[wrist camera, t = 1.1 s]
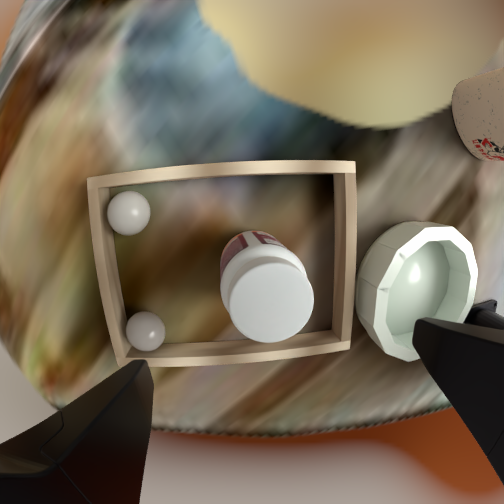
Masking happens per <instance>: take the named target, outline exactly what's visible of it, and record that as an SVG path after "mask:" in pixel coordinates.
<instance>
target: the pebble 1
mask: <svg viewBox="0 0 504 504" xmlns="http://www.w3.org/2000/svg"><path fill="white" fill-rule="evenodd" d="M107 217H108V221H109V224H110V225H111V227H112V228H113V229H114V230H115V231H116V232H118V233H119V234H122V235H134V234H137V233H139V232H141V231H142V230H143V229H144V228H145V227H146V225H147V224H148V222H149V219H150V206H149V203H148V201H147V200H146V198H145V197H144V196H143V195H141V194H140V193H138V192H135V191H123V192H121V193H119V194H117V195H116V196H115V197H114V198H113V199H112V200H111V202H110V204H109V206H108V210H107Z"/></svg>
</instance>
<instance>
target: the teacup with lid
mask: <svg viewBox="0 0 504 504" xmlns="http://www.w3.org/2000/svg"><path fill="white" fill-rule="evenodd" d="M452 113H453V118H454V122H455V125H456V128H457V131H458V133H459V135H460V137H461V139H462V141H463V143H464V144H465V146H466V147H467V149H468V150H469V151H470V152H471V153H472V154H473V155H474V156H475V157H477V158H479V159H481V160H484V161H502V160H504V67H503V68H500V69H496V70H493V71H490V72H487V73H484V74H481V75H478V76H475V77H472V78H469V79H466V80H463V81H461V82H459V83H458V84H457V85H456V87H455V89H454V91H453V95H452Z"/></svg>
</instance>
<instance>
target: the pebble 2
mask: <svg viewBox="0 0 504 504" xmlns="http://www.w3.org/2000/svg"><path fill="white" fill-rule="evenodd" d="M126 335H127V338H128V340H129V342H130V343H131V345H132V346H134V347H135V348H136V349H138V350H141V351H152V350H155V349H157V348H158V347H159V346H160V345H161V344H162V343H163V341H164V339H165V326H164V323H163V321H162V320H161V319H160V318H159V317H158V316H157V315H156V314H154V313H152V312H148V311H141V312H138V313H136V314H134V315H133V316H132V317H131V318H130V319H129V320H128V323H127V325H126Z"/></svg>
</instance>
